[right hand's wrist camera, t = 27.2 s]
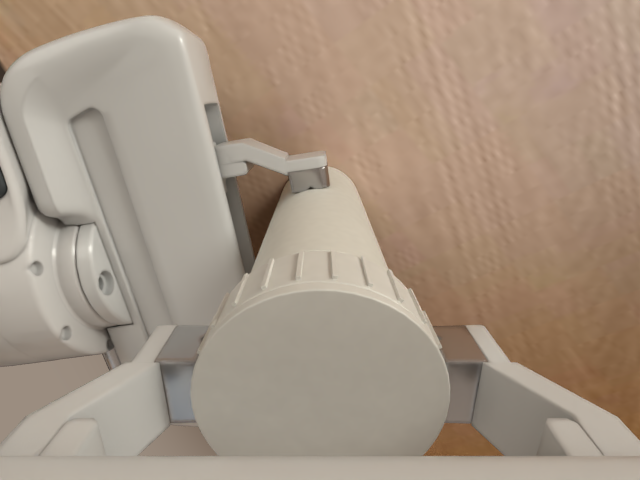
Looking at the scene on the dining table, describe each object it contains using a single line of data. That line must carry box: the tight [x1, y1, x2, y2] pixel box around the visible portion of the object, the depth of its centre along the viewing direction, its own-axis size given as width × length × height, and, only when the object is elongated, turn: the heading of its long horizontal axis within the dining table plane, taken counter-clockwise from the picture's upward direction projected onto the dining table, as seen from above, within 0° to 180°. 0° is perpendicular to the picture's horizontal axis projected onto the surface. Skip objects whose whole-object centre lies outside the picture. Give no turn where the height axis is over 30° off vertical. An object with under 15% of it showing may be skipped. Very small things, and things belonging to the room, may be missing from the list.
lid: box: [191, 249, 450, 456], centre depth 9 cm, size 6×6×2 cm
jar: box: [251, 166, 389, 272], centre depth 17 cm, size 5×5×15 cm
